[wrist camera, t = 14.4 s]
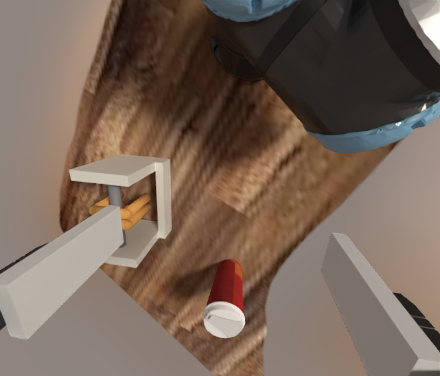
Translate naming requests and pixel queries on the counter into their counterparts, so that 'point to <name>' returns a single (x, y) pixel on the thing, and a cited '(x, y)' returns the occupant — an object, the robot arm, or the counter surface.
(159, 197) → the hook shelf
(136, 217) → the cord hank
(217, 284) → the coffee cup
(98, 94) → the counter surface
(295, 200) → the counter surface
